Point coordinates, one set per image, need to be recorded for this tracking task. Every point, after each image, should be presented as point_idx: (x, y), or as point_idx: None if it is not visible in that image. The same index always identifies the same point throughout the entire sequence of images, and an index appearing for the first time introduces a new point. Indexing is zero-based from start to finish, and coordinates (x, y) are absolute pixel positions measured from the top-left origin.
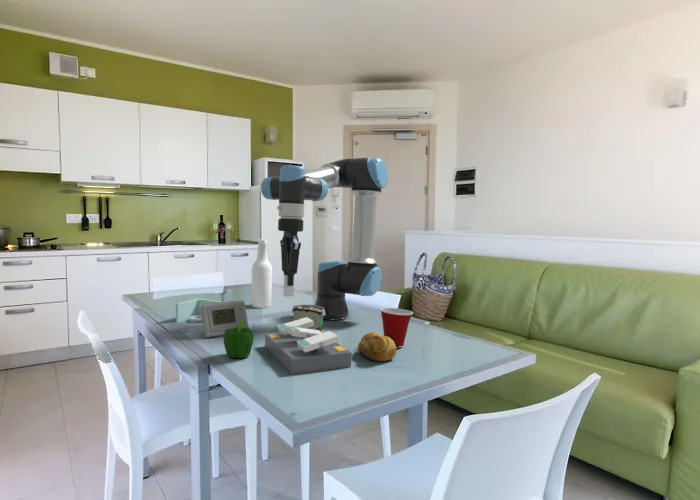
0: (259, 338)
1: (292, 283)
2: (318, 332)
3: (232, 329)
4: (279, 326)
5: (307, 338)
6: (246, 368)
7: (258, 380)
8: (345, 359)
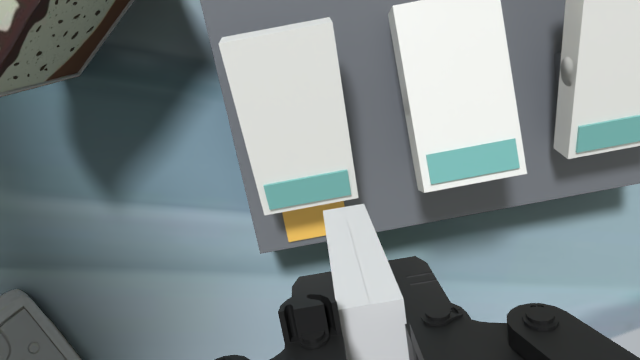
0: (140, 244)
1: (430, 273)
2: (462, 20)
3: None
4: (285, 207)
5: (582, 109)
6: (506, 302)
7: (622, 272)
8: None
